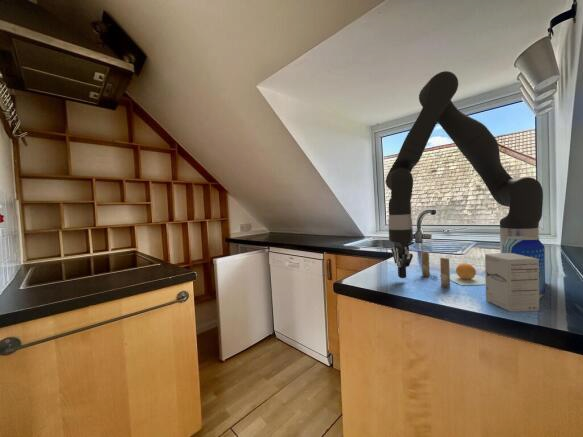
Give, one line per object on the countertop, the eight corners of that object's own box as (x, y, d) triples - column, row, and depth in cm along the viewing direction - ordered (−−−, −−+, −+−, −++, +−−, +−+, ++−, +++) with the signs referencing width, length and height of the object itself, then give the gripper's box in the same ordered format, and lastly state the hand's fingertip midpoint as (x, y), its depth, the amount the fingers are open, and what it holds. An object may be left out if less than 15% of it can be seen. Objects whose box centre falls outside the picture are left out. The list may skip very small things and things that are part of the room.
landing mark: (474, 274, 88) (474, 273, 88) (500, 284, 76) (500, 283, 76) (440, 275, 88) (440, 274, 88) (461, 285, 76) (461, 284, 76)
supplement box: (484, 300, 64) (483, 253, 64) (513, 299, 64) (512, 252, 63) (508, 312, 57) (507, 259, 56) (541, 311, 57) (540, 257, 56)
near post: (447, 285, 78) (446, 257, 77) (451, 287, 75) (450, 258, 75) (439, 285, 78) (438, 257, 77) (443, 287, 75) (442, 259, 75)
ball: (449, 271, 85) (462, 280, 85) (459, 275, 80) (473, 285, 80) (458, 258, 85) (471, 267, 85) (469, 262, 79) (483, 271, 79)
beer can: (526, 289, 71) (525, 235, 70) (555, 299, 62) (554, 238, 62) (495, 289, 71) (494, 236, 71) (519, 300, 63) (518, 239, 63)
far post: (427, 274, 90) (426, 250, 90) (430, 276, 88) (430, 252, 87) (421, 274, 90) (420, 251, 90) (424, 276, 88) (423, 252, 87)
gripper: (420, 228, 76) (422, 282, 76) (403, 225, 89) (405, 272, 90) (396, 229, 76) (398, 283, 77) (383, 226, 89) (384, 272, 90)
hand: (402, 277), depth 83 cm, fingers closed
